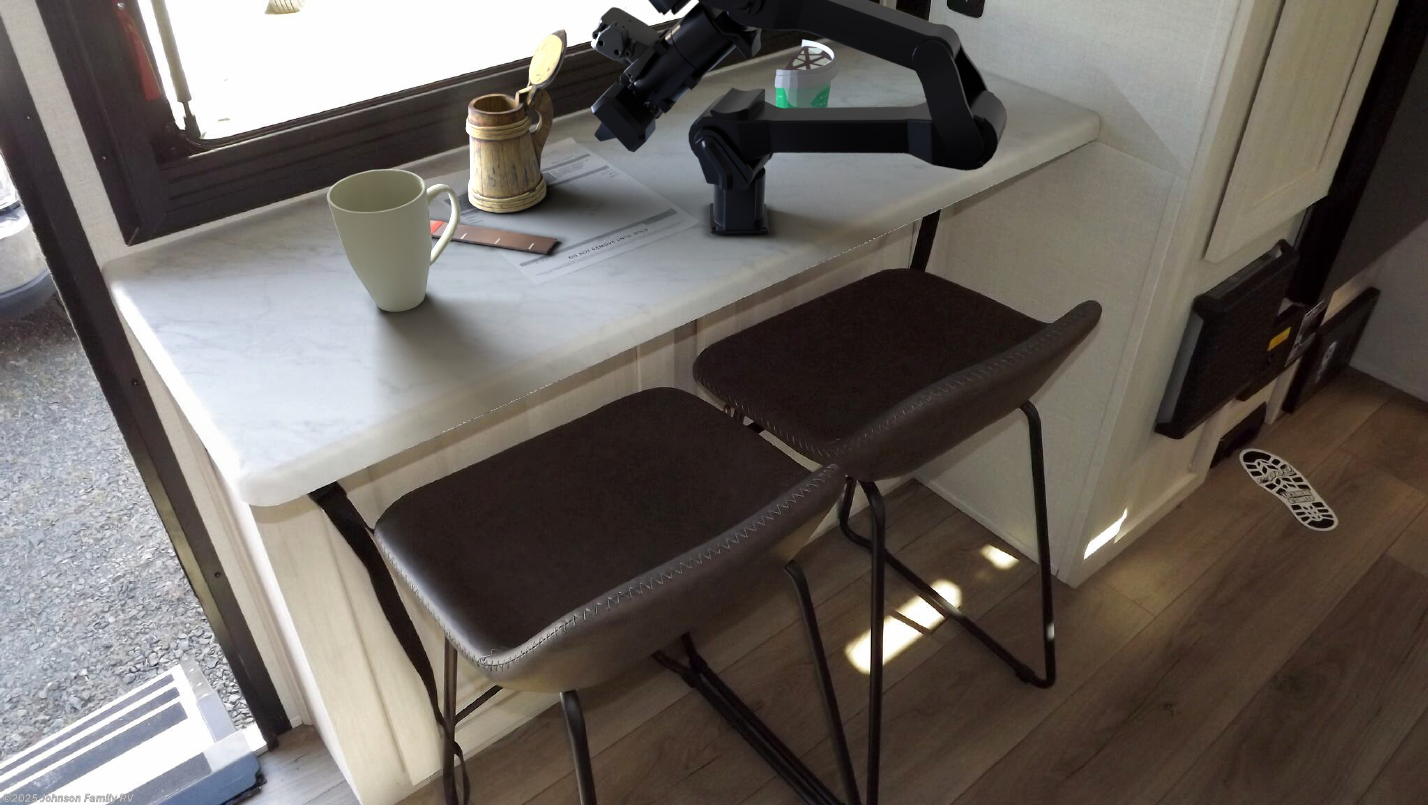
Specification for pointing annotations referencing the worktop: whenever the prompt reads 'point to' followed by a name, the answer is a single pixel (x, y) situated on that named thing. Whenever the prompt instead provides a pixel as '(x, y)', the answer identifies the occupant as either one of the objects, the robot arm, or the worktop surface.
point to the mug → (390, 232)
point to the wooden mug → (513, 136)
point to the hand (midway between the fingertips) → (598, 137)
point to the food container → (806, 77)
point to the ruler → (495, 237)
